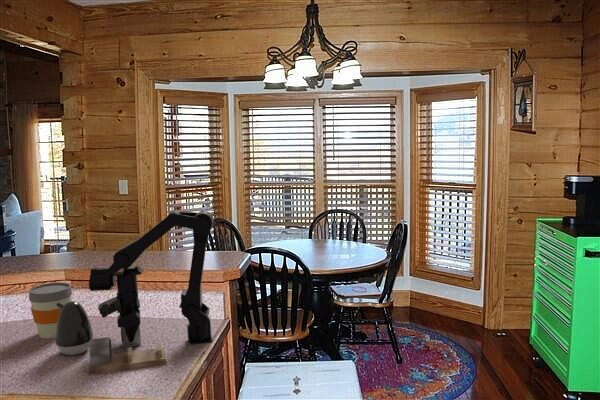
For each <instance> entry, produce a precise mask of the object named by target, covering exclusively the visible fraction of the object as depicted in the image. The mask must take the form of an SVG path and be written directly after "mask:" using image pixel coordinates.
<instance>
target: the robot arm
mask: <svg viewBox="0 0 600 400" xmlns="http://www.w3.org/2000/svg"><path fill="white" fill-rule="evenodd" d="M214 222H215V221H214V215H213V214H212V213H211V212H210V211H208V210H199V211H198V212H194V211H179V210H178V211H176V210H173V211H170V212H169V213H168V214H167V216H166V217H164V218H163V219H161V221H159V222H158V223H156V224H155V225H154V226H152V228H150V229H149V230H148V231H146V232H145V233H144V234H142V236H140V237H139V238H137V239H135V240H133V241H131V242H129V243H127V244H125V245H123V246H121V247H120V248H119V249H118V250H117V251H116V252H115V253H114V255H113V257H112V258H113V259H112V261H113V263H112V264H111V265H110V266H109V267H92V268H91V269H90V274H89V280H88V288H89V291H90V292H99V291H101V292H102V291H112V289H113V287H114V288H115V287H117V289H116V290H117V292H116V296H114V297H112V298H110V299H108V300H105V301H103V302H101V303H100V304H98V306H97V307H98V308H97V309H98V312H99V315H101V317H102V318H103V319H104V318H107V317H108V316H109V315H112V314H113V313H115V312H117V314H118V316H117V320H116V322H117V328H119V329H121V327H124V328H125V331H126V334H127V337H128V340H129V342H133V340H134V338H135V335H136V332H137V329H138V326H139V325H140V326H141V310H140V308H141V302H140V298H139V288H138V276H139V275H140V276H141V275H142V274H143V273H144V269H143V268H141V267H140V266H139V265H138V264H136V265H135V267H131V266H132V265H133V264H134V263H135V262H136V261H137V259H138V258H140V256H141V255H142V254H143V253H144V251H146V250H147V249H148V248H149V247H151V246H152V245H153V244H155V242H156V241H158V240H160V239H161V238H162V237H163V236H165V235H166V234H167V233H168V232H169V231H171V230H172V229H173V228H174V227H180V228H183V229H190V230H192V236H193V249H192V256H191V263H190V270H189V271H190V273H189V280H188V286H187V289H186V288H183V289H182V292H181V294H180V304H179V307H178V308H179V309H180V310H181V311H180V312H181V314H182V316H183V317H184V318H186V319H187V320H188V324H187V325H186V331H187V333H186V334H187V335H186V336H187V340H188V341H189V342H190V345H195V344H196V345H197V344H202V343H209V342H213V337H212V329H211V328H212V327H211V326H212V324H211V318H210V316H209V314H210V310H211V308H210V307H208V306H207V305H206V304H205V303H204V302H203V291H202V281H203V274H204V273H203V271H204V266H205V265H204V264H205V259H206V251H207V243H208V240H209V236H210V234H211V230H212V227H213V225H214V224H213V223H214ZM120 270H121V271H120ZM137 275H138V276H137Z"/></svg>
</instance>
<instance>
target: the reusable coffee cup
mask: <svg viewBox="0 0 600 400" xmlns="http://www.w3.org/2000/svg"><path fill="white" fill-rule="evenodd" d="M71 286H72V285H71V283H68V282H63V281H62V282H60V281H59V282H58V281H57V282H47V283H43V284H39V285H36V286H33V287H32V288H30V289H29V290H28V301H30V304H31V306H30V311H31V315H32V319H33V323H34V324H35V325H36V329H37V333H38V337H39V338H41V339H46V340H47V339H55V334H56V325H57V320H58V317H59V314H60V311H61V309H60V308H59V307H58V306H56V304H57V303H61V304H63V305H65V304H66V303H67V302H70V301H72V295H73V291H72V287H71Z"/></svg>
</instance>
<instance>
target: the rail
mask: <svg viewBox="0 0 600 400" xmlns="http://www.w3.org/2000/svg"><path fill="white" fill-rule="evenodd" d="M156 346H157V348H150V349H142V350H137V351H136V350H134V351H133V349H132V348H133V346H131V347H127V352H120V353H114V354H113V349H112V339H111V338H110V336H108V337H107V336H106V337H99V338H92V339H90V342H89V348H88V349H89V350H88V351H89V363H88V367H87V368H88V369H87V375H88V376H92V375H93V376H94V375H99V374H107V373H113V372H118V371H126V370H132V369H140V368H146V367H147V368H148V367H153V366H161V365H166V364H167V358H166V350H165V347H162V343H161V342H160V343H157V345H156Z"/></svg>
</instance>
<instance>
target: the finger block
mask: <svg viewBox="0 0 600 400" xmlns="http://www.w3.org/2000/svg"><path fill="white" fill-rule="evenodd" d="M140 326H141V324H140V325H139V326H138V329H137V332H136V335H135V338H134V340H133V342H129V340H128V337H127V334H126V331H125V328H124V327H120V337H121V343H122V345H123V348H129V347H139V346H141V345H142V338H141V327H140Z"/></svg>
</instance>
